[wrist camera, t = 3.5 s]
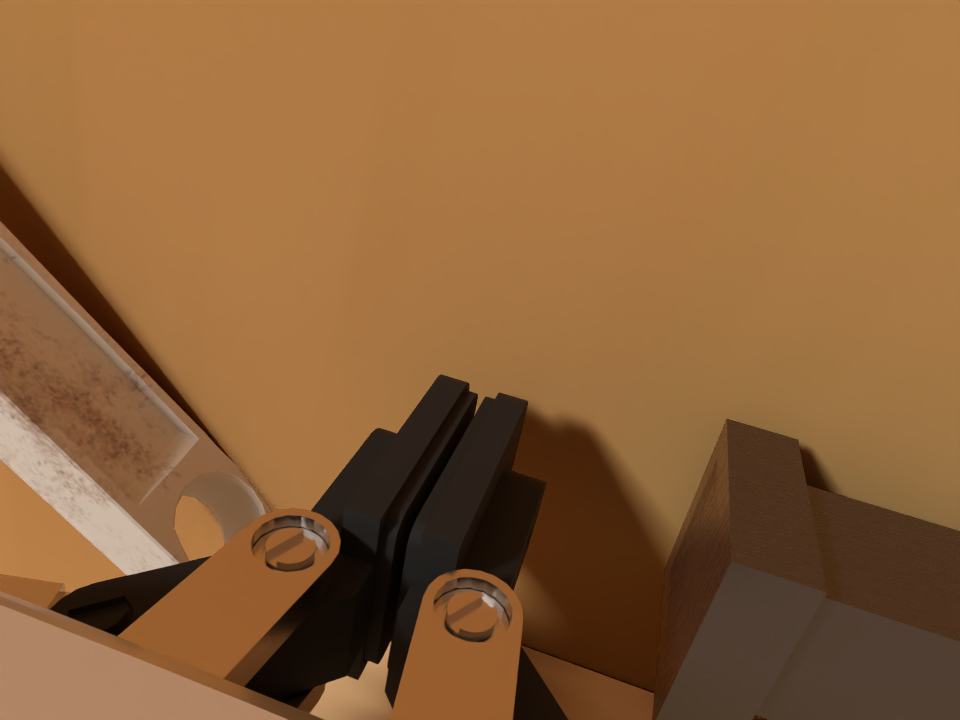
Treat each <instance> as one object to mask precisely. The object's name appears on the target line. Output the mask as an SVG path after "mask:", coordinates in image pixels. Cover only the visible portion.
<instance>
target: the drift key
mask: <svg viewBox="0 0 960 720" xmlns="http://www.w3.org/2000/svg"><path fill="white" fill-rule="evenodd" d="M755 715H756V716H759V717H762V718H765V719H767V720H960V531H957V530H953V529H950V528H947V527H944V526H940V525H937V524H934V523H930V522H927V521H924V520H920V519H917V518H914V517H911V516H907V515H904V514H901V513H897V512H894V511H891V510H887V509H884V508H881V507H878V506H874V505H871V504H868V503H864V502H861V501H858V500H854V499H851V498H848V497H845V496H841V495H838V494H835V493H831V492H828V491H825V490H821V489H818V488H815V487H812V486H808V485H807V484H806V479H805V473H804V468H803V463H802V458H801V452H800V447H799V442H798V440H797V439H794V438H791V437H787V436H784V435H780V434H777V433H773V432H770V431H767V430H763V429H760V428H756V427H753V426H750V425H746V424H743V423H739V422H736V421H733V420H729V419H726V422H725V424H724V427H723V429H722V431H721V434H720V436H719V439H718V441H717V444H716V446H715V448H714V451H713V453H712V456H711V458H710V460H709V463H708V465H707V468H706V470H705V472H704V475H703V477H702V480H701V482H700V485H699V487H698V489H697V492H696V494H695V497H694V499H693V501H692V504H691V506H690V509H689V511H688V513H687V516H686V518H685V521H684V523H683V525H682V528H681V530H680V533H679V535H678V538H677V540H676V542H675V545H674V547H673V550H672V552H671V554H670V557H669V559H668V562H667V564H666V566H665V572H664V584H663V596H662V608H661V620H660V632H659V643H658V655H657V667H656V679H655V691H654V703H653V714H652V720H753V718H754V717H755Z"/></svg>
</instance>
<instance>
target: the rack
mask: <svg viewBox="0 0 960 720" xmlns="http://www.w3.org/2000/svg"><path fill="white" fill-rule="evenodd" d="M390 645H391V642H390V644H389V646H388V648H387V650H386V652H385V654H384V656H383V658H382V660H381V661H380V663H379V664H375V663H372V662H370V661H368V663H367V665H366V666H365V668H364V670H363V672H362V674H361V676H360V678H359V680H356V679H354V678H351V677H348V676H346V677H343V678H340V679H337V680H334V681H331V682H328V683H326V686H325V691H324V693H323V694H322V696H321V698H320V700H319V702H318V703H317V704H316V706H315V707H314V708H313V710H312V711H311V712H310V714H312V715H314V716H317V717H319V718H322V719H324V720H390V718H391V714H392V711H393V709H392V707H391V705H390V702H389V700H388V698H387V696H386V693H385V686H386V680H387V674H388V668H387V663H388V657H389V651H390ZM521 646H522V645H521ZM522 648H523V650H524V651H525V653H526V654H527V656H528V657H529V659H530V660H531V662H532V664H533V665H534V667H535V668H536V670H537V671H538V673H539V674H540V676H541V678H542V679H543V681H544V682H545V684H546V685H547V687H548V689H549V690H550V692H551V693H552V695H553V696H554V698H555V699H556V701H557V703H558V704H559V706H560V707H561V709H562V710H563V712H564V714H565V715H566V717H567V718H568V720H652V714H653V703H654V693H651V692H649V691H646V690H643V689H640V688H638V687H635V686H632V685H629V684H627V683H624V682H621V681H618V680H616V679H613V678H610V677H607V676H605V675H602V674H599V673H596V672H594V671H591V670H588V669H585V668H583V667H580V666H577V665H574V664H572V663H569V662H566V661H563V660H560V659H558V658H555V657H552V656H549V655H547V654H544V653H541V652H538V651H536V650H533V649H530V648H527V647H525V646H522Z"/></svg>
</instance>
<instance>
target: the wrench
mask: <svg viewBox="0 0 960 720" xmlns="http://www.w3.org/2000/svg"><path fill="white" fill-rule="evenodd" d="M0 459H1V460H2V461H3V462H4V463H5V464H6V465H7V466H8V467H9V468H11V469H12V470H13V471H14V472H15V473H16V474H17V475H18V476H19V477H20V478H21V479H23V480H24V481H25V482H26V483H27V484H28V485H29V486H30V487H31V488H32V489H33V490H34V491H36V492H37V493H38V494H39V495H40V496H41V497H42V498H43V499H44V500H45V501H46V502H47V503H49V504H50V505H51V506H52V507H53V508H54V509H55V510H56V511H57V512H58V513H59V514H61V515H62V516H63V517H64V518H65V519H66V520H67V521H68V522H69V523H70V524H71V525H72V526H74V527H75V528H76V529H77V530H78V531H79V532H80V533H81V534H82V535H83V536H84V537H85V538H87V539H88V540H89V541H90V542H91V543H92V544H93V545H94V546H95V547H97V548H98V549H99V550H100V551H101V552H102V553H103V554H104V555H105V556H106V557H108V558H109V559H110V560H111V561H112V562H113V563H114V564H115V565H116V566H117V567H118V568H119V569H121V570H122V571H123V572H124V573H125V574H126V575H132V574H136V573H140V572H145V571H149V570H153V569H158V568H162V567H166V566H171V565H175V564H179V563H184V562H188V561H189V559H188V557H187V555H186V553H185V551H184V549H183V547H182V545H181V542H180V540H179V538H178V536H177V534H176V532H175V530H174V524H175V512H176V506H177V504H178V502H179V500H180V499H181V497H182V495H185V496H190V497H194V498H196V499H197V500H199V501H200V502H202V503H203V504H204V505H206V506H207V507H209V508H210V510H211V511H212V513H213V514H214V516H215V517H216V519H217V520H218V521H219V523H220V526H221V530H222V533H223V537H224V540H225V543H224V545H225V544H227V543H228V542H229V541H230V540H231V539H232V538H234V537H235V536H236V535H237V534H238V533H239V532H241V531H242V530H243V529H244V528H245V527H247V526H248V525H249V524H250V523H251V522H253V521H254V520H256V519H257V518H259V517H261V516H262V515H264V514H267V513H270V512H272V511H271V510H270V509H269V507H268V506H267V505H266V503H265V502H264V501H263V500H262V498H261V497H260V496H259V494H258V493H257V492H256V490H255V489H254V488H253V487H252V485H251V484H250V483H249V481H248V480H247V479H246V478H245V476H244V475H243V474H242V472H241V471H240V470H239V469H238V467H237V466H236V465H235V464H234V463H233V462H232V461H231V460H230V459H229V458H228V457H227V456H226V455H225V454H224V453H223V452H222V451H221V450H220V449H219V448H218V447H217V446H216V444H215V443H214V442H213V441H212V440H211V439H210V438H209V437H208V436H207V434H206V433H205V432H204V431H203V430H202V429H201V428H200V427H199V426H198V425H197V424H196V423H195V422H194V421H193V420H192V419H191V418H190V417H189V416H188V415H187V414H186V413H185V412H184V411H183V410H182V409H181V408H180V407H179V406H178V405H177V404H176V403H175V402H174V401H173V400H172V399H171V398H170V396H169V395H168V394H167V393H166V392H165V391H164V390H163V389H162V388H161V387H160V386H159V385H158V384H157V383H156V382H155V381H154V380H153V379H152V378H151V377H150V376H149V375H148V374H147V373H146V372H145V371H144V370H143V369H142V368H141V367H140V366H139V365H138V364H137V363H136V362H135V361H134V360H133V359H132V358H131V357H130V356H129V355H128V354H127V353H126V352H125V351H124V350H123V349H122V348H121V347H120V345H119V344H118V343H117V342H116V341H115V340H114V339H113V338H112V337H111V336H110V335H109V334H108V333H107V332H106V331H105V330H104V329H103V328H102V327H101V326H100V325H99V324H98V323H97V322H96V321H95V320H94V319H93V318H92V317H91V316H90V315H89V314H88V313H87V312H86V310H85V309H84V308H83V307H82V306H81V305H80V304H79V303H78V302H77V301H76V300H75V299H74V298H73V297H72V296H71V295H70V294H69V293H68V292H67V291H66V289H65V288H64V287H63V286H62V285H61V284H60V283H59V282H58V281H57V280H56V279H55V278H54V277H53V276H52V275H51V274H50V273H49V272H48V271H47V270H46V268H45V267H44V266H43V265H42V264H41V263H40V262H39V261H38V260H37V259H36V258H35V257H34V256H33V255H32V254H31V253H30V252H29V251H28V250H27V249H26V248H25V246H24V245H23V244H22V243H21V242H20V241H19V240H18V239H17V238H16V237H15V236H14V235H13V234H12V233H11V232H10V231H9V230H8V229H7V228H6V227H5V225H4V224H3V223H2V222H1V221H0Z"/></svg>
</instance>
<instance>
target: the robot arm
mask: <svg viewBox="0 0 960 720" xmlns="http://www.w3.org/2000/svg"><path fill="white" fill-rule="evenodd" d="M477 399H478V394H476V393H473V392H470V391H469V383H467V382H464V381H461V380H458V379H454V378H451V377H448V376H445V375H439V376H438V377H437V379H436V380H435V382H434V383H433V384H432V386H431V387H430V389H429V390H428V391H427V393H426V394H425V396H424V397H423V398H422V400H421V401H420V402H419V404H418V405H417V407H416V408H415V409H414V411H413V412H412V414H411V415H410V416H409V418H408V419H407V421H406V422H405V423H404V425H403V426H402V427H401V429H400V430H399V432H398V433H397V434H396V433H393V432H390V431H387V430H384V429H381V428H377V429H375V430H374V431H373V432H372V433H371V434H370V436H369V437H368V438H367V440H366V441H365V442H364V443H363V445H362V446H361V447H360V449H359V450H358V451H357V452H356V454H355V455H354V456H353V458H352V459H351V460H350V461H349V463H348V464H347V465H346V467H345V468H344V469H343V470H342V472H341V473H340V474H339V475H338V477H337V478H336V479H335V481H334V482H333V483H332V484H331V486H330V487H329V488H328V490H327V491H326V492H325V493H324V495H323V496H322V497H321V499H320V500H319V501H318V502H317V504H316V505H315V506H314V508H313V509H312V510H311V511H309V510H304V509H295V508H290V509H281V510H276V511H273V512H270V513H267V514H264V515H262V516H261V517H259V518H257V519H256V520H254V521H253V522H251V523H250V524H249V525H248V526H247V527H245V528H244V529H243V530H242V531H241V532H239V533H238V534H237V535H236V536H235V537H234V538H232V539H231V540H230V541H229V542H228V543H227V544H225V545H224V546H223V547H222V548H221V549H219V550H218V551H217V552H216V553H215V554H214V555H212V556H209V557H205V558H201V559H196V560H192V561H188V562H184V563H179V564H175V565H171V566H166V567H162V568H158V569H153V570H149V571H145V572H140V573H136V574H132V575H127V576H123V577H119V578H114V579H110V580H106V581H101V582H97V583H94V584H91V585H88V586H85V587H82V588H79V589H77V590H75V591H73V592H72V593H69V592H65V588H64V584H61V583H55V582H48V581H42V580H35V579H29V578H22V577H16V576H9V575H3V574H0V720H324V719H322V718H319V717H317V716H314V715H312V714H310V712H311V711H312V710H313V708H314V707H315V706H316V704H317V703H318V702H319V700H320V698H321V696H322V694H323V693H324V691H325V686H326V683H328V682H331V681H334V680H337V679H340V678H343V677H346V676H348V677H351V678H354V679H356V680H359V678H360V676H361V674H362V672H363V670H364V668H365V666H366V665H367V663H368V661H370V662H372V663H375V664H379V663H380V661H381V660H382V658H383V656H384V654H385V652H386V650H387V648H388V646H389V644H390V642H391V645H390V651H389V657H388V663H387V668H388V674H387V680H386V686H385V693H386V696H387V698H388V700H389V702H390V705H391V707H392V709H393V711H392V714H391V718H390V720H568V718H567V717H566V715H565V714H564V712H563V710H562V709H561V707H560V706H559V704H558V703H557V701H556V699H555V698H554V696H553V695H552V693H551V692H550V690H549V689H548V687H547V685H546V684H545V682H544V681H543V679H542V678H541V676H540V674H539V673H538V671H537V670H536V668H535V667H534V665H533V664H532V662H531V660H530V659H529V657H528V656H527V654H526V653H525V651H524V650H523V648H522V646H521V637H522V627H523V611H522V605H521V603H520V601H519V599H518V597H517V595H516V594H515V592H514V591H513V590H514V587H515V584H516V581H517V578H518V575H519V572H520V569H521V566H522V563H523V560H524V557H525V554H526V551H527V548H528V545H529V542H530V539H531V535H532V532H533V529H534V525H535V522H536V519H537V515H538V512H539V508H540V504H541V501H542V497H543V494H544V490H545V486H546V482H544V481H541V480H538V479H535V478H532V477H529V476H526V475H522V474H519V473H516V472H513V471H512V467H513V463H514V459H515V455H516V451H517V447H518V443H519V438H520V434H521V430H522V426H523V422H524V418H525V414H526V410H527V405H528V401H526V400H523V399H519V398H516V397H513V396H510V395H506V394H503V393H498V395H497V397H496V398H495V399H493V398H489V397H485V398H484V400H483V402H482V403H481V405H480V407H479V409H478V410H477V412H476V414H475V409H476V404H477ZM474 414H475V416H474Z"/></svg>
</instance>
